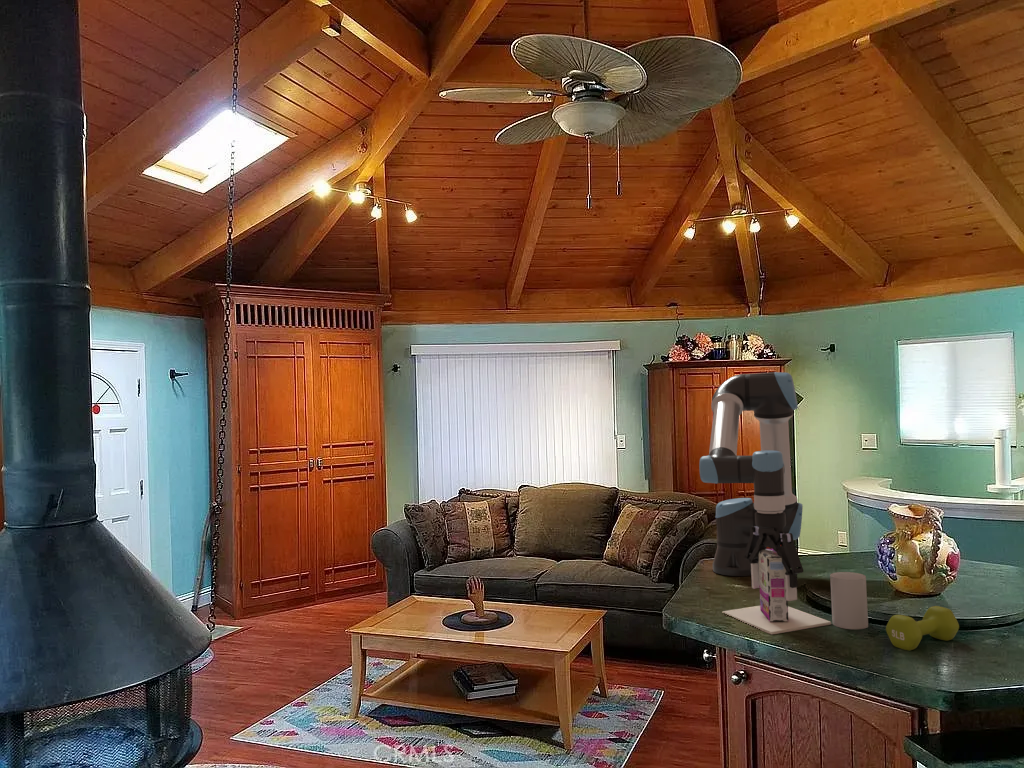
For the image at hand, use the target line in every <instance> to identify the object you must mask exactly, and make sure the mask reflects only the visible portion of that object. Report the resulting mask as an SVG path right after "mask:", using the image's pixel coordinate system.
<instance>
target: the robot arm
mask: <svg viewBox="0 0 1024 768" xmlns="http://www.w3.org/2000/svg"><path fill="white" fill-rule="evenodd" d="M710 406H711V411H712V413H713V416H712V425H711V434H710V442H709V451H708V452H709V453H708V455H703V456H701V457H700V458H699V464H698V465H699V477H700V478H699V479H700V480H701V482H703V483H706V484H753V491H754V492H753V499H752V498H751V497H738V498H730V499H726V500H722V501H719V502H718V503H717V504H716V506H715V516H714V517H715V523H716V526H715V527H716V545H717V546H716V547H717V548H716V551H715V554H714V558H713V561H712V571H713V572H714V573H715V574H719V575H723V576H730V577H748V576H751V589H760V586H759V551H760V550H765V549H768V548H769V549H773V550H774V551H776V552H777V554H778V556H781V558H782V564H783V565H784V567H785V569H786V571H787V573H786V574H785V584H786V600H787V601H788V602H791V601H797V600H798V589H797V588H798V586H799V585H798V574H803V573H804V567H803V565H802V562H801V559H800V556H799V554H798V551H797V547H796V545H795V542H794V541H796V540H799V538H800V537H801V532H802V531H801V529H802V524H803V523H802V519H803V507H804V506H803V504H802V503H801V502H798V497H797V496H796V495H795V494H794V493H793V487H792V483H793V482H792V467H791V466H792V465H791V464H792V463H791V446H790V445H791V444H790V428H789V420H790V419H791V418H792V417H793V416H794V411H795V410H797V409H799V405H798V400H797V394H796V387H795V384H794V380H793V376H792V375H791V373H789V372H780V371H779V372H778V371H773V372H772V371H771V372H757V373H756V372H755V373H740V374H736V375H733V376H731V377H729V378H728V379H726V380H724V382H722V383H721V384H720V385H719V386H718V387H717V389H716V390H715V392H714V394H713V395H712V398H711V405H710ZM744 411H745V412H746V411H747V412H752V411H753V417H754V418H755V419H756V420H758V422H759V435H760V436H759V439H760V450H758V451H757V450H756V451H754V452H753V453H752V455H737V453H738V443H739V442H738V440H739V425H740V415H742V414H743V412H744Z"/></svg>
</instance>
